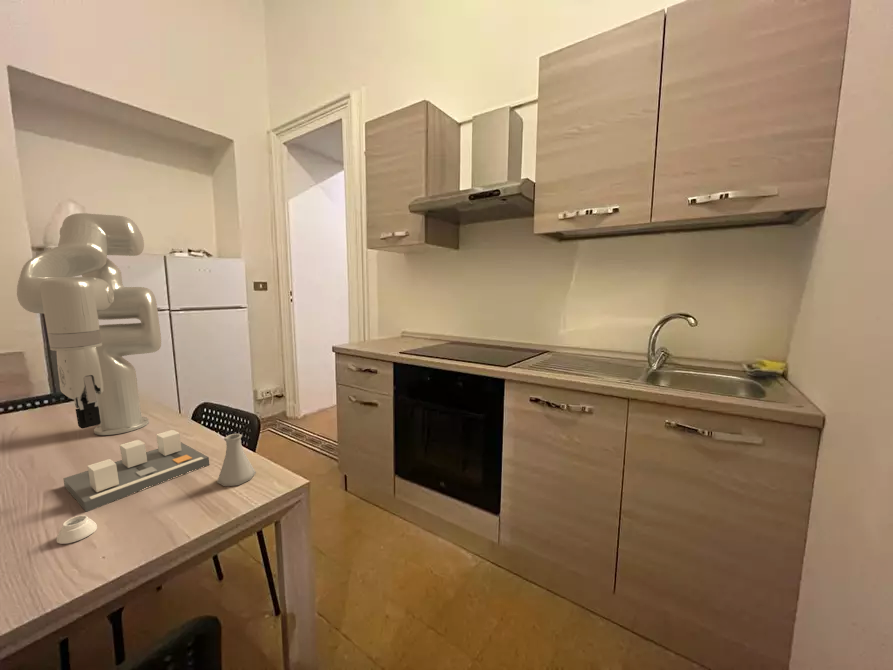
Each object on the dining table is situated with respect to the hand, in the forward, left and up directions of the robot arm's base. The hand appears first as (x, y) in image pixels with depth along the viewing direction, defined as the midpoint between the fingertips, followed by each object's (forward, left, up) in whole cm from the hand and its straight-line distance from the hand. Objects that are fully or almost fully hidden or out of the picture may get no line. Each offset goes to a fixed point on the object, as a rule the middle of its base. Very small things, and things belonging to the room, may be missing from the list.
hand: (89, 425), depth 78 cm
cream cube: (-1, +14, -12) cm, 18 cm away
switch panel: (+2, +7, -14) cm, 16 cm away
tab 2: (-1, +7, -12) cm, 14 cm away
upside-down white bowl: (+17, -7, -14) cm, 24 cm away
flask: (+22, +18, -14) cm, 32 cm away
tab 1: (+6, 0, -12) cm, 13 cm away
